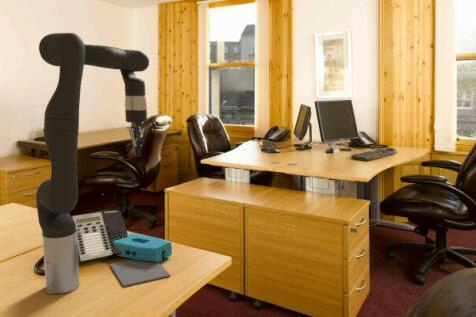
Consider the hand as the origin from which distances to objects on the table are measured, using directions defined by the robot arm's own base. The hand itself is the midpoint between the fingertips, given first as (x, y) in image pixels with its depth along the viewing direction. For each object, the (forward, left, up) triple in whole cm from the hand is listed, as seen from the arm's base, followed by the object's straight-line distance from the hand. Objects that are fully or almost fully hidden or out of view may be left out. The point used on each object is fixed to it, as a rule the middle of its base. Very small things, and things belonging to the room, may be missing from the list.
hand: (138, 156), depth 154 cm
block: (+3, -16, -32) cm, 36 cm away
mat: (-7, -20, -35) cm, 41 cm away
